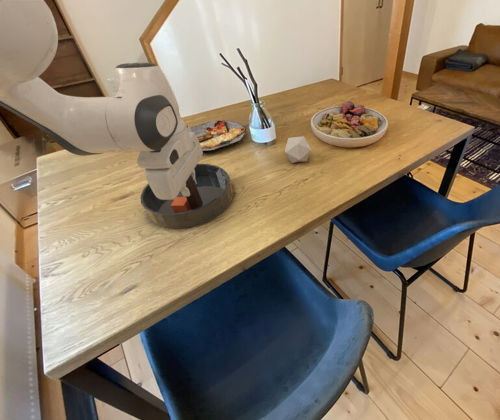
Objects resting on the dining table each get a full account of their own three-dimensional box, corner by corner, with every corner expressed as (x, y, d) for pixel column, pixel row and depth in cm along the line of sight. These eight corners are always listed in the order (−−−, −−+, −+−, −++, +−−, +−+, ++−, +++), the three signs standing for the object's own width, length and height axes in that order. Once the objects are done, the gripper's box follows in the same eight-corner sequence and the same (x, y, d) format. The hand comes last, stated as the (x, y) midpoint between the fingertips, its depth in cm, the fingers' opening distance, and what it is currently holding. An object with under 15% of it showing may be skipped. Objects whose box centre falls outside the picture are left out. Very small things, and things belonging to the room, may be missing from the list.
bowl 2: (392, 151, 100) (395, 131, 94) (309, 151, 100) (308, 131, 95) (380, 116, 122) (382, 98, 116) (312, 116, 122) (312, 99, 117)
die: (304, 171, 92) (317, 143, 89) (279, 159, 89) (292, 131, 87) (301, 166, 100) (314, 140, 97) (279, 155, 97) (291, 129, 94)
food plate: (229, 120, 120) (227, 112, 118) (258, 138, 107) (256, 130, 105) (171, 139, 108) (167, 130, 105) (196, 162, 95) (192, 154, 93)
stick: (200, 209, 74) (181, 164, 64) (191, 209, 74) (171, 164, 64) (203, 203, 75) (185, 159, 66) (194, 203, 75) (175, 159, 66)
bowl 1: (202, 236, 70) (196, 222, 66) (129, 218, 75) (119, 204, 71) (247, 183, 86) (244, 170, 82) (184, 171, 91) (179, 158, 88)
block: (193, 206, 77) (188, 196, 75) (188, 215, 74) (183, 205, 72) (180, 206, 77) (175, 196, 75) (175, 215, 74) (170, 205, 72)
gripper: (174, 121, 69) (192, 167, 78) (132, 166, 54) (160, 217, 63) (199, 121, 69) (214, 167, 78) (164, 166, 54) (188, 217, 63)
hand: (190, 190), depth 71 cm, fingers closed on stick, 2 cm apart
